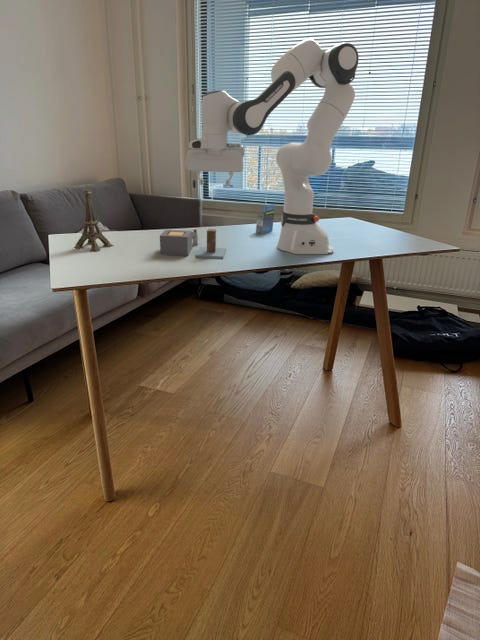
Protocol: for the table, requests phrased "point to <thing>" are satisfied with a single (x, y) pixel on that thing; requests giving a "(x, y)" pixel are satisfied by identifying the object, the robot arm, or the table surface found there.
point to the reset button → (176, 233)
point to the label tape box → (265, 220)
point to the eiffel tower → (91, 227)
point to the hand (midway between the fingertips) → (214, 184)
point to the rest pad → (218, 253)
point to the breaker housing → (176, 243)
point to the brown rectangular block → (211, 240)
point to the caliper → (195, 237)
